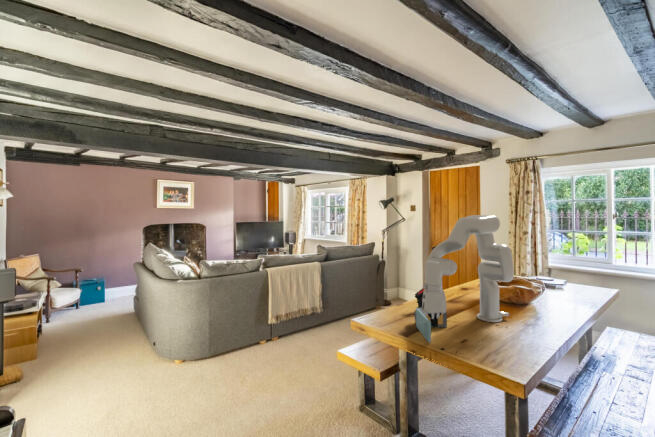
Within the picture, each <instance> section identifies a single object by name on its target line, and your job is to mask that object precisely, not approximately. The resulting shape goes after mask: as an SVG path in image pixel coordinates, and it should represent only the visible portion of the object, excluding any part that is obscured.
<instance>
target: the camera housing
mask: <svg viewBox="0 0 655 437" xmlns="http://www.w3.org/2000/svg"><path fill="white" fill-rule="evenodd" d="M418 309H419V310H420V311H421V312H422V313H423V309H422V308H418ZM413 313H414V317H413V318H414V321H415V323H416V309H415V310H414V312H413ZM447 313H448V312H447V310H446V311H445V313H444V314H441V315H440V316H439V319H438V327H436V328H440V327H442V329H443V327H445V329H446V327H447V328H448V318H447V317H448V314H447ZM425 316H426V317H427V318H428V319H429V320H430V317H429V316H428V315H425ZM431 328H433V327H432V326H431Z"/></svg>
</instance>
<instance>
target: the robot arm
mask: <svg viewBox="0 0 655 437" xmlns="http://www.w3.org/2000/svg"><path fill="white" fill-rule="evenodd" d="M500 227H501V221H500V219H499V218H498V217H497V216H496V215H489V214H488V215H487V214H486V215H482V214H479V215H478V214H473V215H471V214H470V215H467V216H464V217H460V218H458V219H457V221H456V223H455V224H454V226H453V228H452V230H451V232H450V234H449V235H448V238H446V239H445V240H444V241H442V242H440V243H439V244H437V246H435V247H434V248H433V249H432V250H431V252H430V254H428V258H427V259H426V261H425V262H424V285H422V289H425V290H424V292H423V299H422V309H423V314H424V315H428V316H429V317H430V322H431V326H432V327H431V328H435V329H436V328H437V327H438V319H439V316H440V315H441V314H444V313H445V311H446V312H447V299H446V294H445V290H444V289H443V277H444V276H452V275H454V274H455V273H456V272H457V270H458V265H457V263H456V261H454V260H453V259H449V258H443V256H445V255H447V254H451V253H454V252H457V251H461V250H463V249H464V248H465V247H466V245H467V242H468V241H469V238H470V236H471V235H474V236H475V239H476V245H477V251H478V252H477V253H478V256H479V258H480V259H481V260H484V261H481V262H480V263H479V264H478V266H477V274H478V279H479V313H477V314H476V318H477V319H479V320H481V321H484V322H488V323H500V322H502V321H503V317H509V316H510V313H509V312H504V311H500V286H499V283H498V282H504V283H510V282H512V281H513V279H514V276H515V270H514V263H513V262H514V260H513V253H512V249H511V248H510V246H508V245H506V244H502V243H496V242H495V236H494V233H496V232H497V231H499V229H500ZM497 281H498V282H497Z"/></svg>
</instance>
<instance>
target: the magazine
mask: <svg viewBox="0 0 655 437" xmlns="http://www.w3.org/2000/svg"><path fill="white" fill-rule="evenodd" d="M424 290H425V289H423V288H421V289H420V290H419V291H417V292H416V293H415V294H414V298H416V303H417V307H416V308H422V299H423V292H424Z"/></svg>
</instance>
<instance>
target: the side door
mask: <svg viewBox="0 0 655 437" xmlns="http://www.w3.org/2000/svg"><path fill="white" fill-rule="evenodd" d="M415 310H416V322H415V327H416V328H417V330H418V331H419V333H421V335H422V336H423V338H425V340H426V342H427V343H432V327H431V322H430V320H429V319H428V318H427V317H426V316H425V315H424V314H423V313H422V312H421V311H420V310H419V309H418V308H417V307H415Z"/></svg>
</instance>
